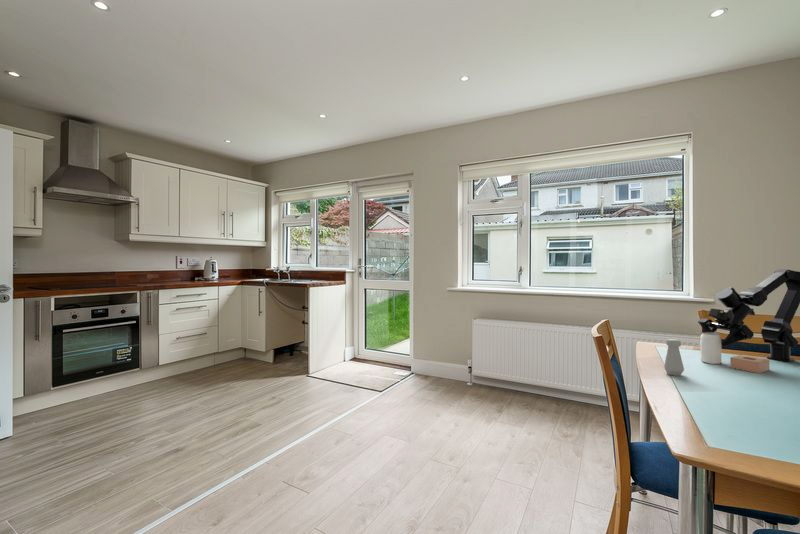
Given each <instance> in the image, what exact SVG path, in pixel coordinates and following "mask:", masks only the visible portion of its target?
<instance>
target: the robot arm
mask: <svg viewBox="0 0 800 534" xmlns="http://www.w3.org/2000/svg"><path fill="white" fill-rule="evenodd" d="M784 284H785V285H786V288H787V289H786V292H785V293H784V296H783V298H782V301H781V303H780V304H779V306H778V309H777V311H776V313H775V316H774V318H773V319H772V320H764V322H763V325H762V326H761V328H760V334H761V337H762V340H763V343H766V344H769V347H770V355H769V356H766V359H769V360H776V361H780V362H781V361H783V362H792V361H794V360H795V358H793V357H791V348H795V347H798V344H799V341H798V339H796V337H794V336H793V332H794V331H793V328H792V326H791V323H792V321H793V319H794V316H795V314H797V311H798V308H799V306H800V271H796V270H791V269H776V270H775V271H774V273H772V274H771V275H770V276H768V277H767V278H765V279H764V280H762V281H761V282H760V283H758V284H757V285H756V286H754V287H751V288H746V289H744V290H741V291H740V292H739V293H738V292H737V291H736V289H735V288H734V287H729V286H728V287H726V288H723V289H721V290H720V291H718V292H716V294H715V297H716V298H717V300H718V301H720V303H721V304H722V305H723V306H724V307H726V308H727V309H724V310H723V309H719V308H712V307H711V308H710V310H709V313H708V314H707V315H708V317H711V318H714V321H715V322H714V321H713V320H712V319H710V318H703V317H702V318H700V319H699V320H697V323H698V324H699V325H700V327H701V329H702V330H701V332H700V333H701V334H702V332H713V333H716V332H717V331H718V329H719V330H724V331H727V332H729V333H728V334H727V335H726V337H725V338H724V339H723V340H722V341H721V347H725V346H728V345H731V344H734V343H736V342H737V343H738V342H740V341H745V340H751V339H752V338H753V337H754V336H755V335H754V334H755V333H754V332H753V330H752V329H751V328H750V327H749V326H748V325H747V324H745V322H744V320H745V319H746V317H747V316H756V315H755V314H756V312H755V311H754V308H752V307H760V306H762V305H763V304H764V303H765V302H766V301H767V300H768V297H769V296H768V295H770V294H771V293H772V292H774V291H775V290H777V289H778V288H780V287H781V286H782V285H784ZM750 306H751V307H750ZM728 308H729V309H728ZM701 334H700V335H701Z"/></svg>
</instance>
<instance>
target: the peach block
mask: <svg viewBox="0 0 800 534" xmlns="http://www.w3.org/2000/svg"><path fill="white" fill-rule="evenodd" d="M729 359H730V361H729V363H730V364H729V365H730V367H731V368H732V369H735V368H736V370H740V369H741V370H740V371H745V370H746V372H751V373H757V374H762V373H764V372H765V373H766V372H768V371H770V369H771V368H770V359H769V358H761V357H755V356H749V355H744V354H738V355H734V356H730V357H729ZM731 368H730V369H731Z"/></svg>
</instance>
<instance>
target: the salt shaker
mask: <svg viewBox="0 0 800 534" xmlns="http://www.w3.org/2000/svg"><path fill="white" fill-rule="evenodd" d="M665 343H666V345H667V351H666V355H665V361H664V366H663V368H664V370H665V372H666V374H668V375H669V376H673V375H674V377H681V375H682V374H683V372H684V371H685V368H684V364H683V360H682V355H681V353H680V347H681V345H682V342H681V341H680V340H679V339H676V338H667V340H666V341H665Z"/></svg>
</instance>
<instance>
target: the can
mask: <svg viewBox="0 0 800 534" xmlns="http://www.w3.org/2000/svg"><path fill="white" fill-rule="evenodd" d="M701 333H702V334H700V337H699V341H700V361H701V362H702V363H704V362H705V363H706V364H709V363H710V364H709V365H721V364H722V345H721V344H722V337H721V333H718V332H714V333H713V332H702V331H701ZM720 363H721V364H720Z"/></svg>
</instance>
